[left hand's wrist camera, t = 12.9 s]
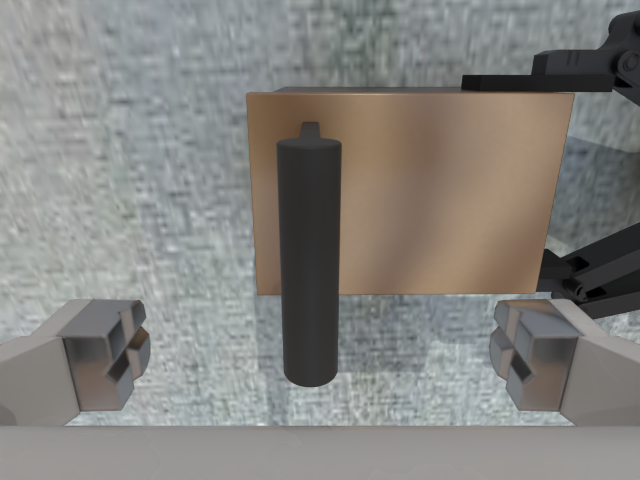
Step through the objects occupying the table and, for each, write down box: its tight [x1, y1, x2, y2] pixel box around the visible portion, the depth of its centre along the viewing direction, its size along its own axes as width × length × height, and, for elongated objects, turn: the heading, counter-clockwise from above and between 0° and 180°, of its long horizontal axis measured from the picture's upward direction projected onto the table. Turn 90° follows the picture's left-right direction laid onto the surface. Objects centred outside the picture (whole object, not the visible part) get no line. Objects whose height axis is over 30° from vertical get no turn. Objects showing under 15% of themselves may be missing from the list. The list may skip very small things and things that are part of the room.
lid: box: [246, 92, 575, 387], centre depth 16 cm, size 14×9×9 cm
